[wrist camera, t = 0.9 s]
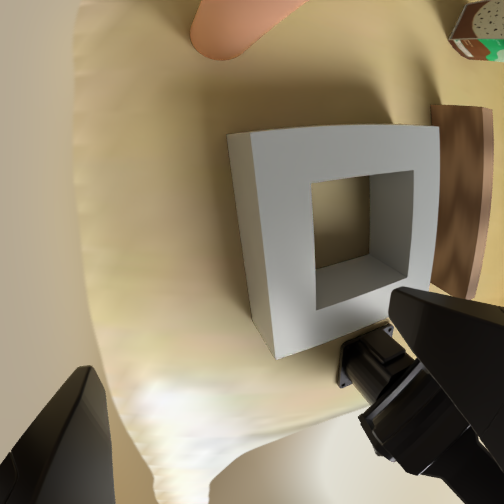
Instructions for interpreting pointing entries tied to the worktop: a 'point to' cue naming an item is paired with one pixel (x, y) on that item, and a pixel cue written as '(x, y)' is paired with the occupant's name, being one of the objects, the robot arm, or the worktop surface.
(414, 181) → the socket block
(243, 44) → the dowel
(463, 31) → the food container
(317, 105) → the worktop surface
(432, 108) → the walnut wall
